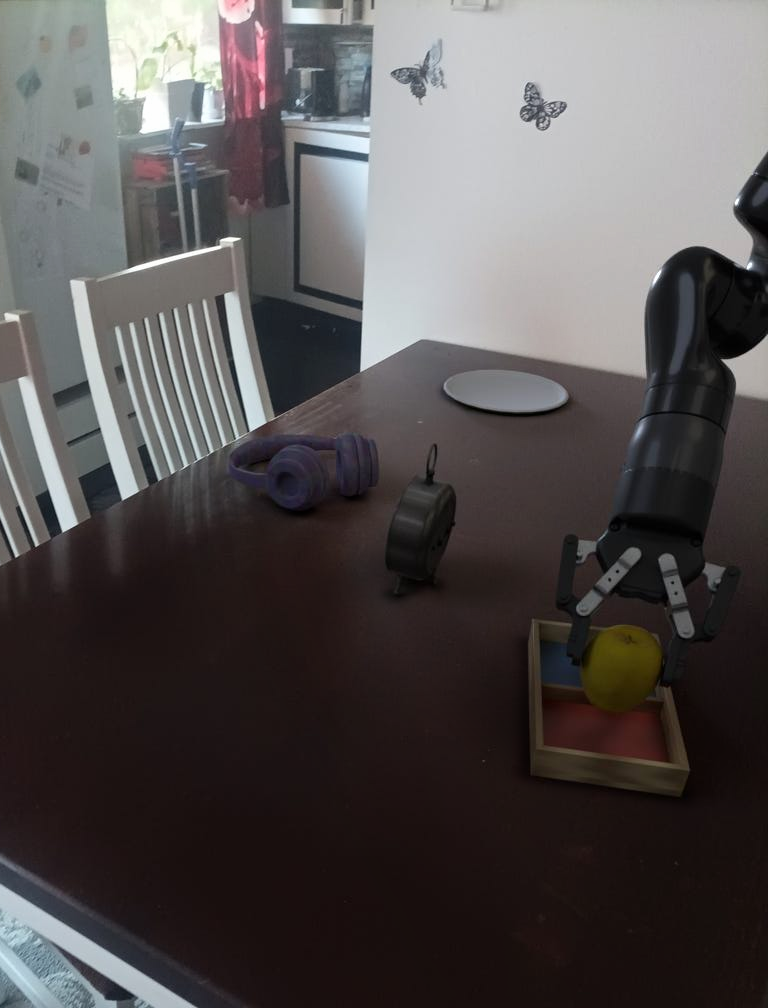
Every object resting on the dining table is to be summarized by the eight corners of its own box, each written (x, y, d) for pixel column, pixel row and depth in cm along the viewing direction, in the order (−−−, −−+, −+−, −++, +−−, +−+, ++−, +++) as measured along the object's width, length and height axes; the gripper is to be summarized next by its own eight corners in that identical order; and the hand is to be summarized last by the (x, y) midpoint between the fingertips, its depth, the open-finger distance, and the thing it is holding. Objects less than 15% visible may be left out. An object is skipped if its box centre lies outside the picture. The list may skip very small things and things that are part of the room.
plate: (417, 393, 153) (418, 386, 152) (491, 368, 165) (492, 361, 164) (519, 428, 140) (520, 420, 140) (592, 398, 152) (593, 390, 151)
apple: (594, 733, 73) (616, 653, 68) (558, 686, 78) (577, 608, 73) (665, 724, 74) (691, 645, 69) (625, 677, 79) (648, 601, 75)
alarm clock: (411, 554, 107) (425, 422, 97) (455, 564, 105) (474, 431, 95) (378, 597, 98) (389, 458, 89) (424, 609, 96) (442, 468, 87)
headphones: (401, 493, 119) (315, 463, 134) (400, 431, 115) (312, 408, 130) (285, 526, 110) (208, 491, 126) (280, 461, 107) (201, 432, 122)
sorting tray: (650, 658, 90) (658, 633, 88) (680, 797, 73) (690, 770, 72) (527, 643, 91) (532, 618, 90) (530, 775, 75) (536, 748, 74)
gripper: (580, 449, 73) (529, 644, 71) (772, 480, 69) (724, 690, 67) (576, 483, 80) (530, 662, 78) (750, 514, 76) (706, 704, 74)
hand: (620, 674), depth 72 cm, fingers closed on apple, 6 cm apart
